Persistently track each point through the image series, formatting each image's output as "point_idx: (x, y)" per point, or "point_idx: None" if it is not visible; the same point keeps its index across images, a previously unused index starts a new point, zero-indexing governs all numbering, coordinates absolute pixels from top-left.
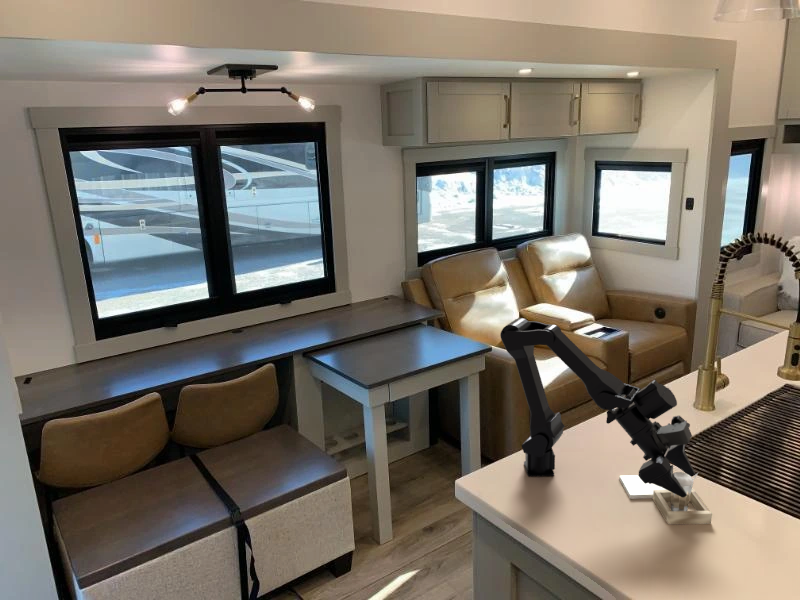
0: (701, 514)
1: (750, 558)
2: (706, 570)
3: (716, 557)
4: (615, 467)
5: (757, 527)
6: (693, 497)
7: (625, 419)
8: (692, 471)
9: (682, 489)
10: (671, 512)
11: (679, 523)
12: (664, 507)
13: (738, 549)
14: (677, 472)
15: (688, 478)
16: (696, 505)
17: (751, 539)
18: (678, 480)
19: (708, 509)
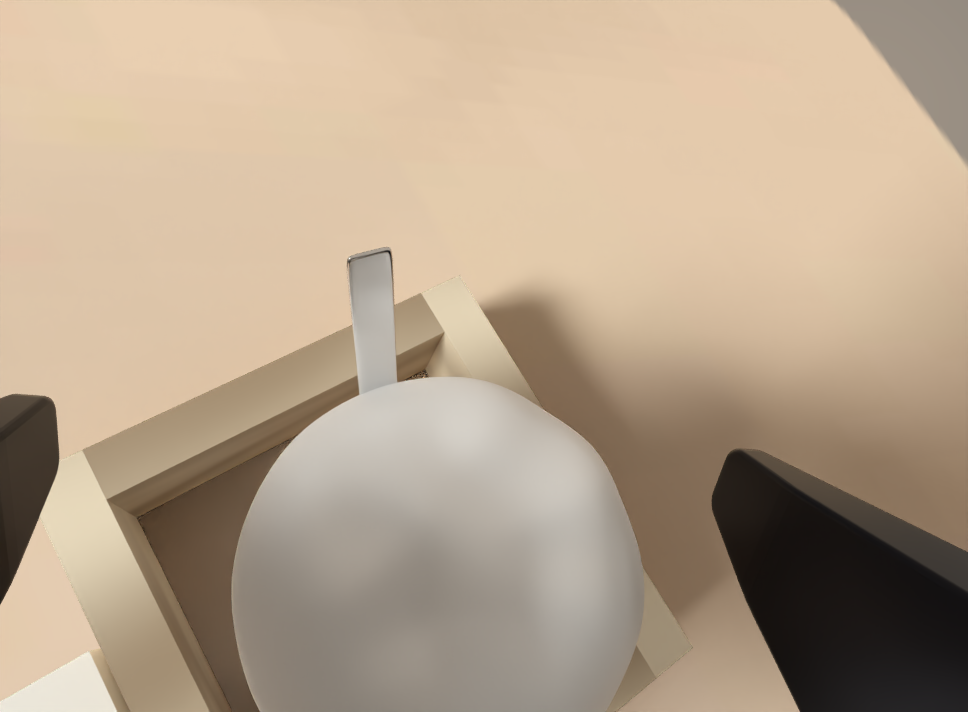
0: (507, 361)
1: (683, 107)
2: (935, 323)
3: (793, 275)
4: None
5: (323, 35)
6: (181, 470)
7: None
8: (24, 432)
9: (839, 497)
10: (647, 631)
11: None
12: None
13: (640, 159)
14: (365, 698)
15: (502, 442)
16: (273, 436)
17: (490, 83)
18: (636, 611)
19: (405, 305)
